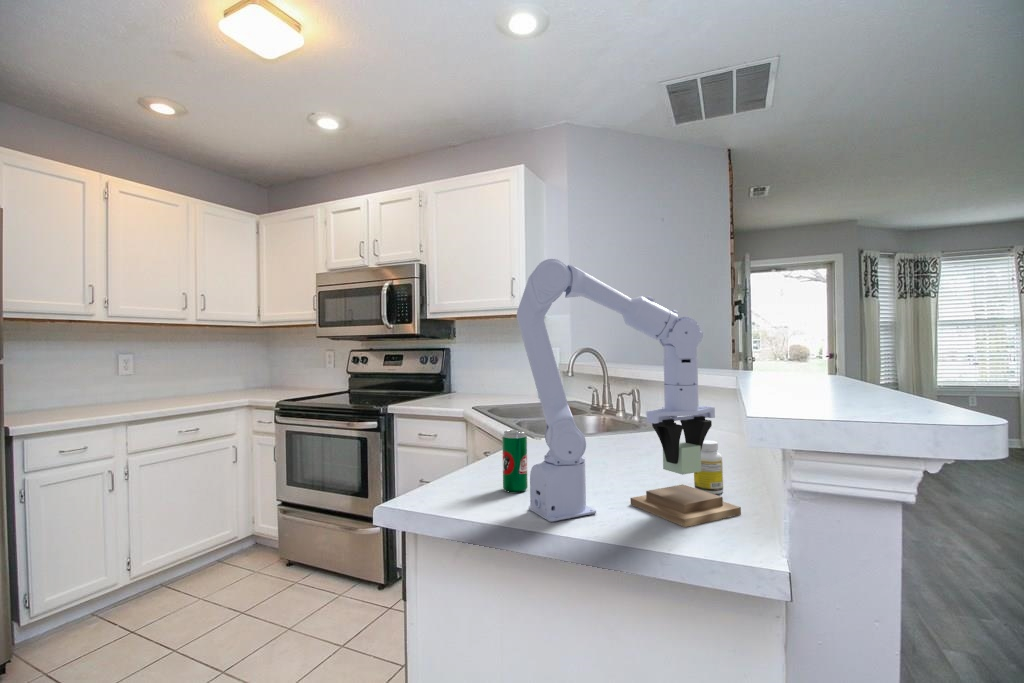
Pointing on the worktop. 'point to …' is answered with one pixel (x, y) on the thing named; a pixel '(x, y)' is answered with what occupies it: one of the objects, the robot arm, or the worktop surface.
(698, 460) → the sage block
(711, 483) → the supplement bottle
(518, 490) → the soda can
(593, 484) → the worktop surface
